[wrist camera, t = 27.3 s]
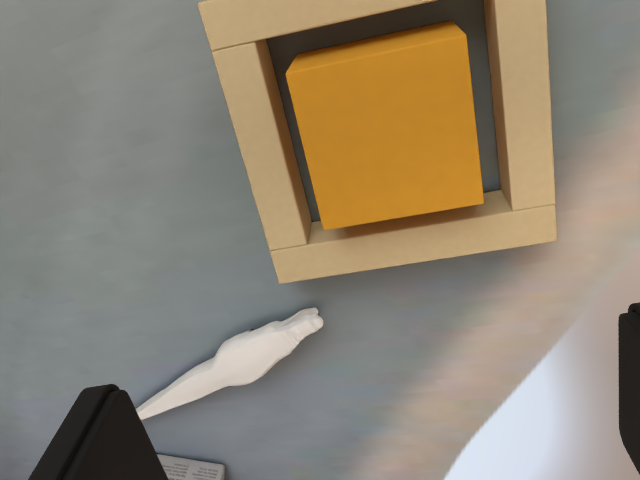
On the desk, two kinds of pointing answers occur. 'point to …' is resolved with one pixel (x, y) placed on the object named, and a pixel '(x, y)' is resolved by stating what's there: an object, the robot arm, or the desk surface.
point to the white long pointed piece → (236, 362)
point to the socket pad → (407, 232)
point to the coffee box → (190, 469)
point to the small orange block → (388, 125)
